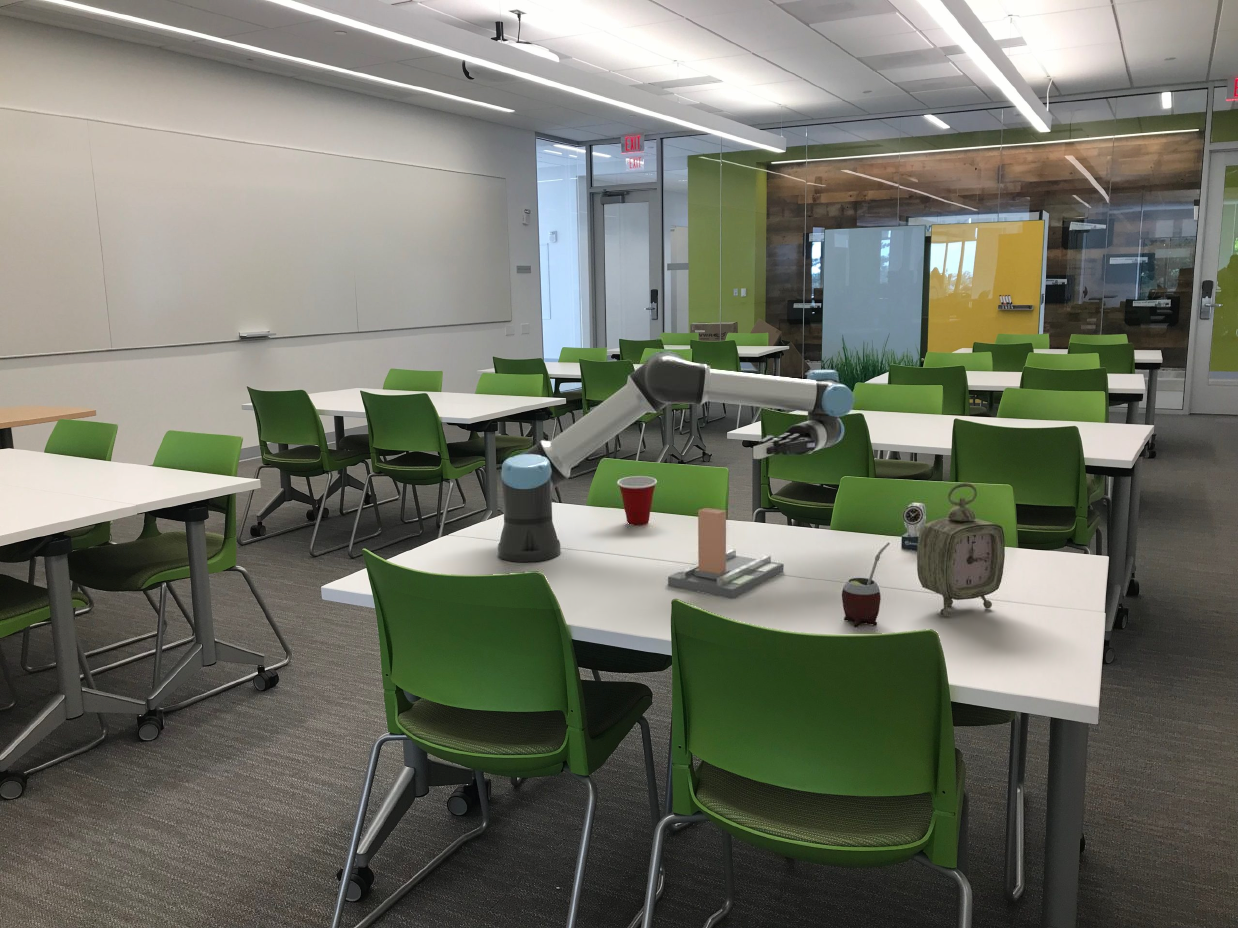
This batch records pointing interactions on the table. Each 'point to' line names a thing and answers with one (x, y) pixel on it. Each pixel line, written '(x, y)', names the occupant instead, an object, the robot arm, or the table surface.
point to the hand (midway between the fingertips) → (756, 452)
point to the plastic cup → (637, 498)
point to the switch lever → (711, 543)
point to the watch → (913, 525)
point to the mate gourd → (862, 598)
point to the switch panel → (729, 576)
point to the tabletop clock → (961, 555)
